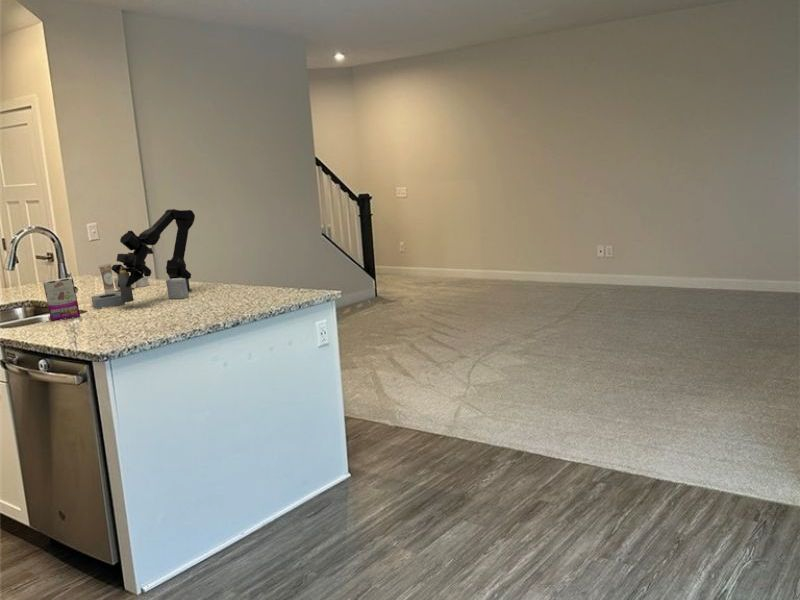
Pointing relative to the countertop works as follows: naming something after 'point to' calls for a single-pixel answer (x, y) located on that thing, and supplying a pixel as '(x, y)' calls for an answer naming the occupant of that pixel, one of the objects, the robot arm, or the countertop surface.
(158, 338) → the countertop surface
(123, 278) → the grey upright block
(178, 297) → the medicine box
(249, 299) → the countertop surface
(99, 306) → the housing
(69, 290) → the candy bar box
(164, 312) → the countertop surface
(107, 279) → the cosmetic set
